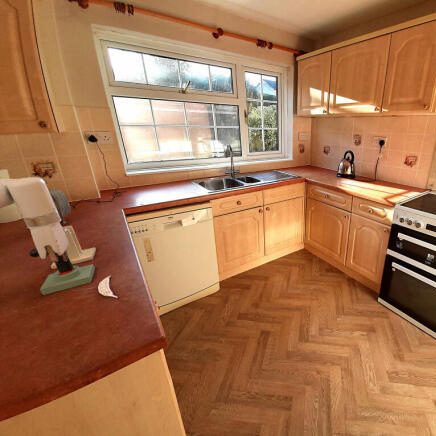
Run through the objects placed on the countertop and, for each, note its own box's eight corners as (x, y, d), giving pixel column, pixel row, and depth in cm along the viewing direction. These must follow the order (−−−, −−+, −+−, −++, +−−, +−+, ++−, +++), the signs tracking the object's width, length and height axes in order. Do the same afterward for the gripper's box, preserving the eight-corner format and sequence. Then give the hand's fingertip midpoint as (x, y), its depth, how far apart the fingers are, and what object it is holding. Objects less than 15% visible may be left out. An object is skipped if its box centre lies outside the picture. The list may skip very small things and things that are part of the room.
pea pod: (97, 281, 81) (96, 277, 80) (113, 276, 83) (112, 272, 83) (100, 305, 70) (98, 301, 69) (118, 298, 72) (116, 294, 72)
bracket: (51, 269, 89) (36, 237, 84) (58, 258, 96) (45, 228, 91) (92, 259, 94) (80, 229, 89) (96, 249, 101) (85, 221, 96)
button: (59, 279, 78) (57, 275, 77) (62, 274, 81) (60, 269, 80) (73, 276, 80) (71, 271, 79) (76, 270, 83) (74, 266, 82)
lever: (34, 260, 88) (25, 254, 86) (37, 256, 90) (28, 250, 88) (71, 235, 91) (62, 229, 89) (73, 232, 93) (65, 226, 92)
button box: (42, 295, 75) (37, 284, 73) (51, 280, 82) (46, 270, 81) (90, 282, 80) (86, 272, 79) (95, 269, 88) (91, 259, 86)
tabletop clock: (35, 228, 125) (12, 180, 115) (47, 221, 133) (27, 176, 124) (67, 225, 127) (47, 178, 118) (77, 219, 136) (60, 174, 126)
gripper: (35, 214, 77) (58, 263, 84) (15, 231, 65) (44, 287, 72) (65, 209, 81) (85, 257, 88) (51, 224, 68) (76, 278, 75)
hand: (66, 270), depth 80 cm, fingers closed
